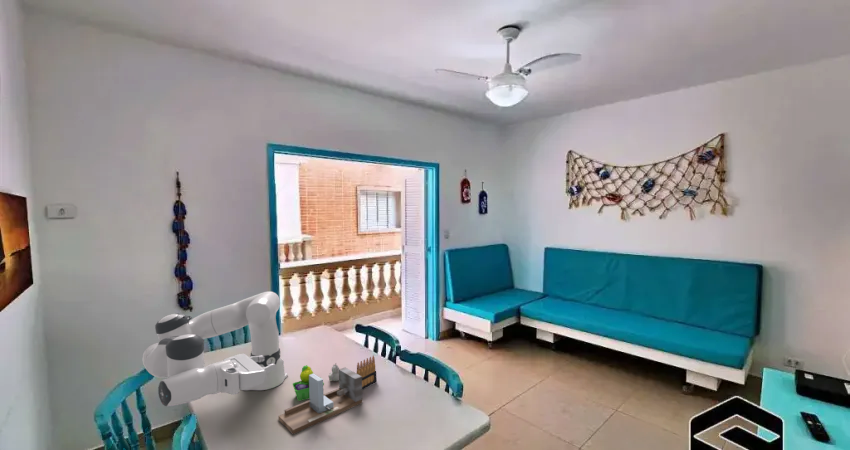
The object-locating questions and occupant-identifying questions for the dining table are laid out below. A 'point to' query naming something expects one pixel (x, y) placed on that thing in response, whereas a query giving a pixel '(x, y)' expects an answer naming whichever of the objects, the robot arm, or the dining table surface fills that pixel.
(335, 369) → the grey figurine
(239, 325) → the robot arm
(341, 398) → the base
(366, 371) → the ammunition clip
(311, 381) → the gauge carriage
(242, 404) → the dining table surface
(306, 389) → the fruit basket
